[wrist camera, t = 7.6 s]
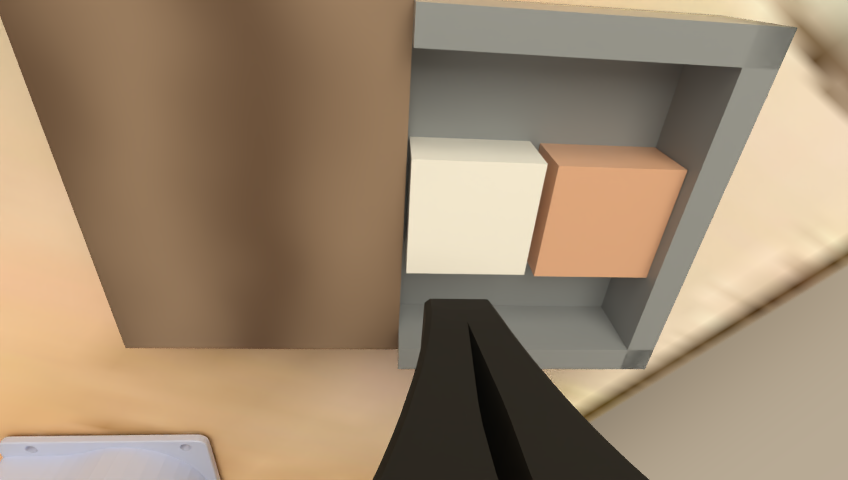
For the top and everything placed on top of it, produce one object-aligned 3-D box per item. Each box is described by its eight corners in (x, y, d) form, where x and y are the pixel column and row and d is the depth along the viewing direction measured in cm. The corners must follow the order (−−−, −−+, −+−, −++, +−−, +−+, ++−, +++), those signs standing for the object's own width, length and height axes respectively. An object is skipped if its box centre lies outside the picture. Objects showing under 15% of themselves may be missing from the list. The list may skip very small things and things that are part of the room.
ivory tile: (405, 241, 17) (406, 273, 15) (409, 136, 15) (411, 159, 13) (511, 243, 17) (524, 274, 15) (530, 141, 15) (547, 163, 13)
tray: (397, 314, 19) (398, 368, 17) (411, -7, 13) (416, 1, 10) (612, 317, 20) (644, 368, 17) (722, 15, 14) (797, 27, 11)
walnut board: (150, 312, 18) (125, 347, 17) (39, -33, 12) (-18, -32, 10) (397, 314, 19) (397, 349, 18) (411, -7, 13) (414, -2, 11)
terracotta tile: (519, 245, 17) (533, 276, 15) (540, 142, 15) (558, 166, 13) (621, 247, 17) (646, 277, 16) (655, 147, 15) (687, 170, 14)
